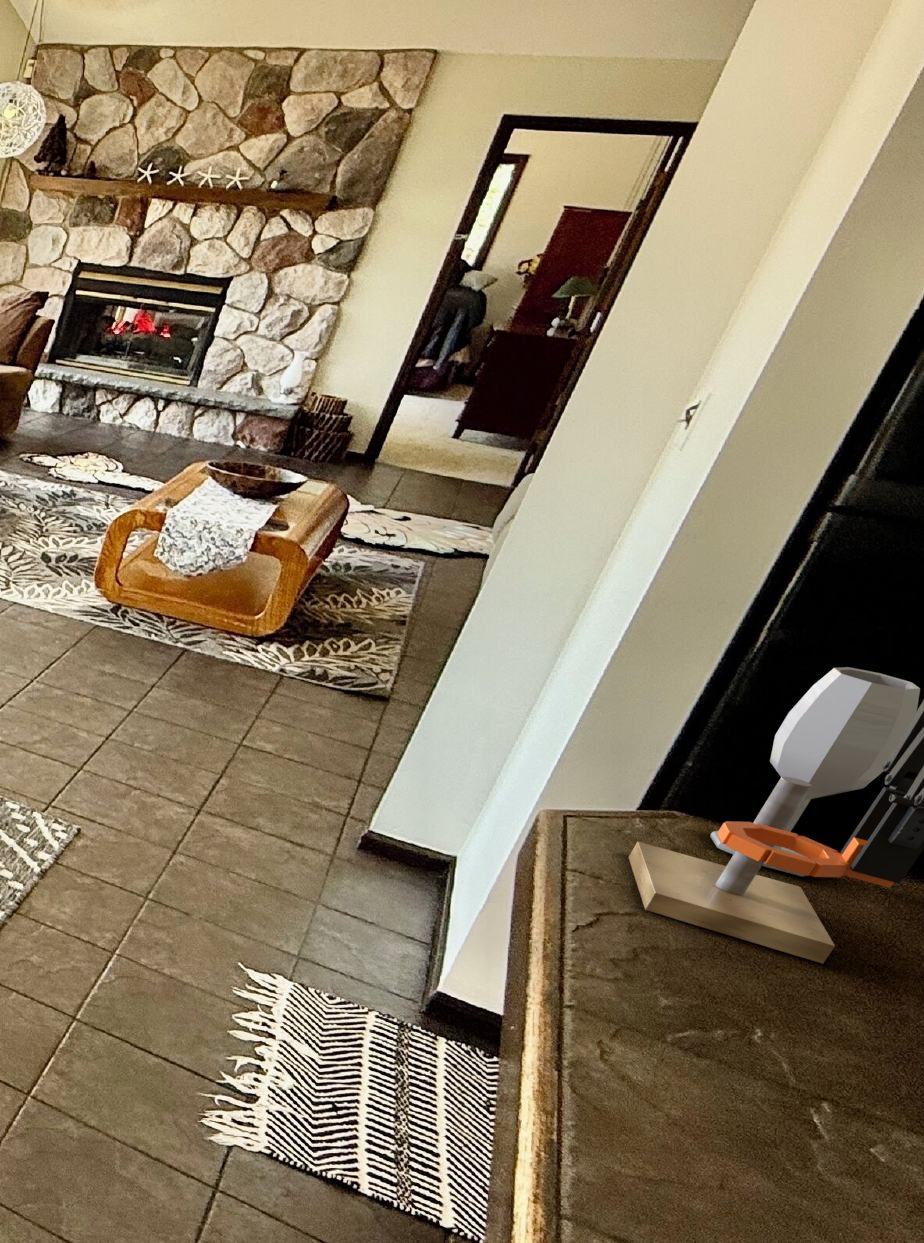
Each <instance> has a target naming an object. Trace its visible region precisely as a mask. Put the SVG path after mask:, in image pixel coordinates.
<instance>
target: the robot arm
mask: <svg viewBox="0 0 924 1243" xmlns="http://www.w3.org/2000/svg"><path fill="white" fill-rule="evenodd" d="M883 772H885V773H888V774H887V775H886V776H885V777H884V785H885V786H883V788H881V790H880V792H879V794H878V795H877V796H876V798H875V799H874V801H873V802H872V804H871V805H870V807H869V809H868V810H867V811H866V813H865V815H864V816H863V817H862V819H861V821H860V822H859V823H858V825H857V827H856V828H855V829H854V831H853V833H852V834H851V835H850V837H849V838H848V840H847V841H846V842H845V845H843V848H842V849H841V850H840V852H839V853H841V854H843V853H844V851H845V850H846V848H847V847H848V845H849V844H850V842H851V841H852V839H853V838H859V839H862V840H866V841H867V842H866V844H865V845H864V847H863V848H862V850H861V851H860V853H859V854H858V856H857V857H856V859H855V860H854V862H853V863H852V865H851V866H850V869H851V870H852V871H855V872H858V873H862V874H866V875H869V876H873V877H877V878H880V879H884V880H888V881H891V882H894V883H896V884H899V885H900V884H901V882H902V881H903V879H904V878H905V877H906V875H907V874H908V872H909V871H910V870H911V868H913V866H914V864H915V862H916V861H917V860H918V859H919V857H920V856H921V854H922V852H923V851H924V699H923V700H922V702H921V704H920V705H919V707H917V712H916V713H915V715H914V717H913V718H912V720H911V722H910V723H909V725H908V727H907V728H906V730H905V732H904V733H903V735H902V737H901V738H900V740H899V742H898V743H897V745H896V746H895V748H894V750H893V751H892V753H891V755H890V756H889V758H888V760H887V761H886V762H885V763H884V765H883ZM886 786H887V787H886ZM888 786H889V787H888Z"/></svg>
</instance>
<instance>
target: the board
mask: <svg viewBox="0 0 924 1243" xmlns="http://www.w3.org/2000/svg"><path fill="white" fill-rule="evenodd" d="M811 787H812V785H811V784H809V783H807V782H805V781H802V780H799V779H796V778H791V777H781V776H780V779H779V780H778V782H777V783H776V785H775V786H774V788H773V789H772V792H771V793H770V795H769V796H768V798H767V800H766V801H765V803H764V804H763V806H762V807H761V809H760V811H759V812H758V813H757V815H756V818H755V819H754V821H753V822H752V823H754V824H756V823H758V824H762V825H766V826H769V827H773V828H777V829H781V830H785V828H786V827H787V825H788V823H789V822H790V820H791V819H792V817H793V815H794V814H795V812H796V811H797V809H798V807H799V806H800V804H801V803H802V801H803V800H804V798H805V796H806V795H807V793H808V792H809V790H810V788H811ZM759 842H761V841H759ZM761 843H763V844H766V845H768V846H770V847H772V848H773V847H774V846H775V845H772V844H768V843H765V842H761ZM628 861H629V863H630V867H631V870H632V873H633V876H634V878H635V883H636V885H637V889H638V891H639V892H638V893H639V894H640V898H641V902H642V904H643V907H644V910H645V911H647V912H651V913H654V914H657V915H661V916H664V917H667V918H671V919H674V920H677V921H681V922H684V923H687V924H690V925H694V926H696V927H700V928H703V929H707V930H711V931H714V932H717V933H720V934H724V935H726V936H731V937H733V938H736V939H740V940H743V941H747V942H748V943H749V942H750V943H754V944H757V945H759V946H763V947H767V948H770V949H773V950H776V951H780V952H782V953H787V954H788V955H793V956H796V957H799V958H802V959H806V960H808V961H813V962H815V963H818V964H822V965H823V964H824V963H825V962H826V961H827V959H828V957H829V956H830V954H831V953H832V952H833V950H834V948H835V947H836V945H835V944H834V941H833V940H832V938H831V936H830V935H829V933H828V931H827V930H826V928H825V926H824V925H823V923H822V921H821V919H820V918H819V916H818V914H817V912H816V911H815V909H814V908H813V906H812V904H811V902H810V901H809V899H808V897H807V896H806V894H805V892H804V891H803V888H802V887H801V886H798V885H795V884H791V883H788V882H784V881H781V880H777V879H773V878H769V877H766V876H762V875H759V874H758V873H759V871H760V869H761V868H762V867H763V866H762V865H763V863H764V862H758V861H756V860H754V859H752V858H750V857H748V856H746V855H744V854H741V853H739V852H737V851H735V853H734V855H733V854H732V856H731V858H730V860H729V861H728V863H727V864H726V865H723V864H719V863H716V862H713V861H709V860H706V859H701V858H698V857H695V856H692V855H689V854H683V853H680V852H678V851H674V850H669V849H667V848H663V847H659V846H655V845H652V844H648V843H645V842H641V841H637V842H636V844H634V847H633V848H632V850H631V852H630V854H629V856H628Z"/></svg>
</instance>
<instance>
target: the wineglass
mask: <svg viewBox="0 0 924 1243" xmlns="http://www.w3.org/2000/svg"><path fill="white" fill-rule="evenodd" d="M920 692H921V688H920V687H919V686H917V685H916V684H915V683H914V682H911V681H908V680H905V679H901V678H898V677H894V676H891V675H887V674H884V673H881V672H875V671H870V670H865V669H860V668H854V667H849V666H845V667H843V666H842V667H833V668H832V669H831V670H830V671H828V672H827V673H826V674H825V675H824V676H823V677H821V678H820V679H818V680H817V681H816V682H815V683H814V684H813V685H812V686H811V687H810V688H809V689H808V690H807V692H806V693H805V694H804V695H803V696H802V697H801V698H800V700H798V702H797V703H796V704H795V705H794V706H793V708H791V709H790V711H788V713H787V715H786V716H785V718H784V720H783V721H782V723H781V725H780V727H779V728H778V729H777V731H776V733H775V734H774V739H773V745H772V750H771V754H770V759H769V762H770V764H771V765H772V766H773V768H774V769H775V771H776V772H777V773H778V775H779V777H780V778H781V777H791V778H796V779H799V780H802V781H805V782H807V783H809V784H811V785H812V787H811V788H810V790H809V792H808V793H807V795H806V796H805V798H804V800H803V801H802V803H801V804H800V806H799V807H798V809H797V811H796V812H795V814H794V815H793V817H792V819H791V820H790V822H789V823H788V825H787V827H786V828H785V831H788V832H792V830H793V829H794V827H795V826H796V824H797V823H798V821H799V819H800V818H801V816H802V814H803V813H804V811H805V810H806V808H807V806H808V805H809V803H810V802H811V800H815V799H819V798H824V797H829V796H834V795H838V794H843V793H847V792H852V791H857V790H861V789H864V788H866V787H867V786H868V785H869V784H870V783H871V782H872V781H874V780H875V779H876V778H877V777H879V776H880V775H881V774H882V773H883V772H884V771H883V765H884V763H885V762H886V761H887V760H888V758H889V756H890V755H891V753H892V751H893V750H894V748H895V746H896V745H897V743H898V742H899V740H900V738H901V737H902V735H903V733H904V732H905V730H906V728H907V727H908V725H909V723H910V722H911V720H912V718H913V717H914V715H915V713H916V712H917V710H918V706H919V698H920ZM718 831H719V830H713V831H712V832H711V833H710V838H711V840H712V842H713V843H714V845H715V846H716V848H717V849H719V850H721V851H724V852H725V853H729V854H731V855H732V856H733V855H734V853H735V850H733V849H731V848H729V847H727V846H726V845H725V844H722V842H721V840H720V838H719V836H718V834H717V833H718ZM773 848H774V849H778V850H781V851H785V852H789V853H792V854H796V855H800V856H803V855H801V854H798V853H796V852H794V851H792V850H790V849H787V848H783V847H780V846H776V845H775V846H774V847H773ZM803 857H805V856H803ZM761 867H765V868H769V869H773V870H777V871H779V872H783V873H788V874H792V875H796V876H798V877H809V876H811V875H808V876H807V875H803V874H800V873H796V872H792V871H789V870H785V869H782V868H778V867H775V866H771V865H767V864H765V862H764V863H763V865H762V866H761Z"/></svg>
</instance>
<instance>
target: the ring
mask: <svg viewBox="0 0 924 1243" xmlns="http://www.w3.org/2000/svg"><path fill="white" fill-rule="evenodd" d="M717 831H718V833H717V834H718V836H719V838H720V840H721V842H722V844H725V845H726V846H727V847H729V848H731V849H733V850H735V851H737V852H739V853H741V854H744V855H746V856H748V857H750V858H752V859H754V860H756V861H758V862H765V864H767V865H771V866H775V867H778V868H782V869H785V870H789V871H792V872H796V873H800V874H803V875H807V876H806V877H809V876H808V875H810V876H811V877H813V878H841V877H843V876H845V877H848V878H851V879H856V880H858V881H862V882H867V883H870V884H873V885H878V886H881V887H884V888H888V889H890V888H891V887H892V885H893V884H894V883H895V882H891V881H888V880H884V879H880V878H877V877H873V876H869V875H866V874H862V873H858V872H855V871H852V870H851V869H850V866H851V865H852V863H853V862H854V860H855V859H856V857H857V856H858V854H859V853H860V851H861V850H862V848H863V847H864V845H865V844H866V842H867V841H866V840H862V839H859V838H853V839H852V841H851V842H850V844H849V845H848V847H847V848H846V850H845V851H844V853H843V854H841V853H840V852H839V851H838V850H836V849H834V848H832V847H830V846H827V845H825V844H823V843H820V842H818V841H816V840H815V839H814V840H813V839H811V838H809V837H807V836H804V835H799V834H798V833H795V832H792V831H791V832H788V831H785V830H781V829H777V828H773V827H769V826H766V825H762V824H758V823H756V824H754V823H753V822H752V821H731V820H729V821H728V820H727V821H725V822H723V823H722V825H721V826H720V828H719V830H717ZM759 841H761V842H765V843H768V844H772V845H776V846H780V847H783V848H787V849H790V850H792V851H794V852H796V853H798V854H801V855H803V856H805V857H803V856H800V855H796V854H792V853H789V852H785V851H781V850H778V849H774V848H772V847H770V846H768V845H766V844H763V843H761V842H759Z"/></svg>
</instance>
